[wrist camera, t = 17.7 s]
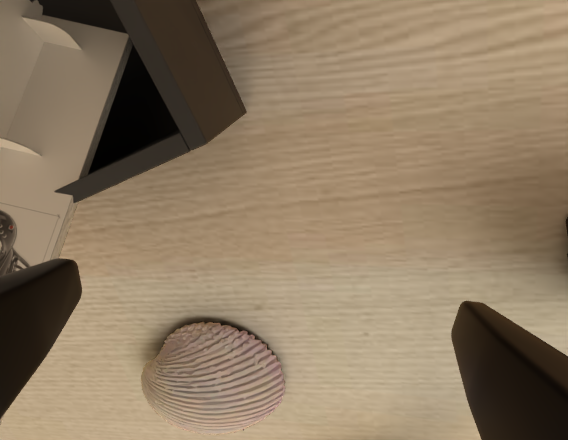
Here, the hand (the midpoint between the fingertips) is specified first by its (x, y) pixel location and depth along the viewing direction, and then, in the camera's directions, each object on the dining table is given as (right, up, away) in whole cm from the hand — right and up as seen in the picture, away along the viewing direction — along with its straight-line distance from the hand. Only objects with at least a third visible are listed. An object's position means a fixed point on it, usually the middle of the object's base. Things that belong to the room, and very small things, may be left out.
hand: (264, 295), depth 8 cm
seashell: (-5, -10, +19) cm, 22 cm away
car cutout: (-11, +3, +5) cm, 12 cm away
